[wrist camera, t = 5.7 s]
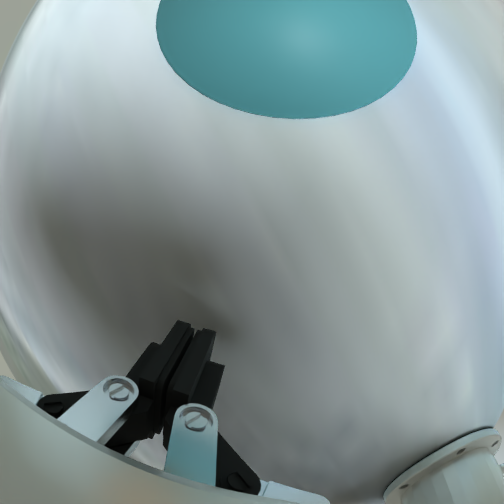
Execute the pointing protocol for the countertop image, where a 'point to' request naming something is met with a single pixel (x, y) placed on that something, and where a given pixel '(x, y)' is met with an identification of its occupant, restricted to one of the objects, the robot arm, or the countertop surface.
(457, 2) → the countertop surface
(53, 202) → the countertop surface
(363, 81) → the disc
